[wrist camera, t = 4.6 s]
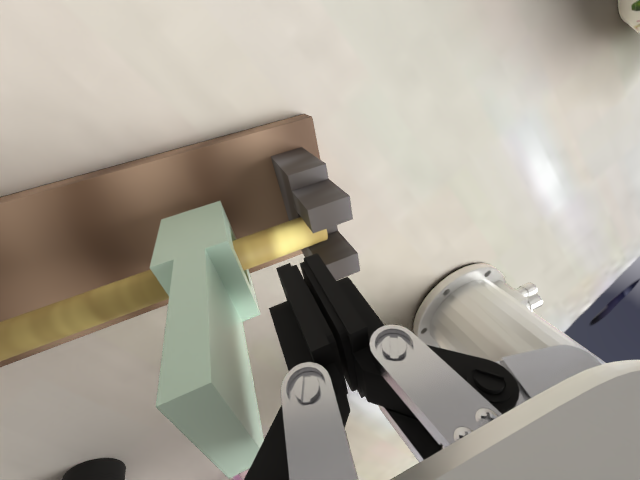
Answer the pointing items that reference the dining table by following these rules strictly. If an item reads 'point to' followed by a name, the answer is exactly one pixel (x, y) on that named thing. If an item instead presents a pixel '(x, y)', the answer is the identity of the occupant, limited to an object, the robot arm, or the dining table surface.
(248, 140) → the wooden rod slider stand
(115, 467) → the drinking cup
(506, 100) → the dining table surface
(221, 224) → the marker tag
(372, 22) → the dining table surface
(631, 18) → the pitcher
